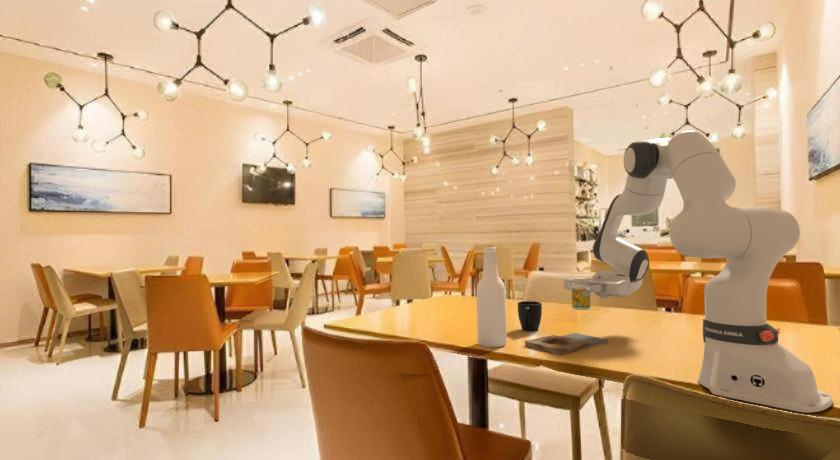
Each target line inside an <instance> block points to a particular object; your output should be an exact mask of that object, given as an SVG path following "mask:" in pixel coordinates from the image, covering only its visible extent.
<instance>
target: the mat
mask: <svg viewBox="0 0 840 460" xmlns="http://www.w3.org/2000/svg"><path fill="white" fill-rule="evenodd" d="M560 336H561V337H566V338H570V339H575V340H579V341H584V342H589V348H590V347H595V346H598V345H602V344H606V343H607V344H608V342H609V339H607V338H602V337H598V336H597V337H596V336H592V335H587V334H582V333H578V332H573V333H569V334H565V335H560Z"/></svg>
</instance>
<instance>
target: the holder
mask: <svg viewBox="0 0 840 460" xmlns="http://www.w3.org/2000/svg"><path fill="white" fill-rule="evenodd" d="M561 336H562V335H556V334H552V335H547V336H542V337H541V336H540V337H538V338H533V339H529V340H525V341H524V346H525V347H528V348H531V349H535V350H539V351H542V352H543V351H544V352H547V353H550V354H555V355H558V356H562V355H566V354H569V353H573V352H578V351H583V350H586V349H589V348H590V347H589V342H584V341H579V340H575V339H570V338H566V337H561ZM556 344H558V345H556Z"/></svg>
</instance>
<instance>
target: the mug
mask: <svg viewBox="0 0 840 460" xmlns="http://www.w3.org/2000/svg"><path fill="white" fill-rule="evenodd" d="M542 306H543V305H542V302H540V301H535V300H523V301H518V302H517V314H518V320H519V324H520V326H521V330H522V331H524V332H531V333H532V332H538V331H539V329H540V324H541V321H542V315H543V313H542V312H543V307H542Z"/></svg>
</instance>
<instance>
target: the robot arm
mask: <svg viewBox="0 0 840 460" xmlns="http://www.w3.org/2000/svg"><path fill="white" fill-rule="evenodd" d="M623 167H624V170H625V172H626V173H627V176H626V177H627V178H626V181H625V183H624V184H625V185H624V188H623V191H622V193H620V194H617V195H615V196H614V198H613V199H612V200H611V203H610V205H609V207H608V210H607V212H606V215H605V218H604V220H603V222H602V226H601V228H600V230H599V233H598V234H597V237H596V239H595V241H594V243H593V244H592V252H593V256H594V258H595V259H596V260H597V261H600V262H603V263H605V264H607V265H609V266H610V267H613V269H608V270H600V271H597V272H595V273H594V274H593V276H592V277H591V278H590V277H586V278H587V285H589V286H587V287H586V288H587V289H586V290H587V291H588V292H590V293H593V294H595V295H596V296H597V297H599V298H603V299H608V298H615V297H622V298H626V297H627V298H628V297H630V296H631V294H632V293H634V292H636V291H637V290H639V289H640V288H641V286H642V284H643V283H644V282H643V281H644V279H643V278H644V277H645V275H646V274H647V271H648V270H649V265H650V258H649V255H648V252H647V251H646V250H645V249H643V248H641V247H639V246H637V245H634V244H632V243H630V242H628V241H626V240H625V239H622V238H620V236H619V235H618V230H619V228H620V226H621V224H622V221H623V218H624V216H636V217H637V216H644V215H648V214H651V213H652V212H654V211H656V210H657V209H658V208H659V207H660V206H661V204H662V203H663V199H664V196H665V192H666V188H667V187H666V186H667V182H668V180H669V179H670V180H671V179H673V180H674V182H675V185H676V186H677V188H678V190H679V193H680V196H681V198H682V201H683V208H682V210H681V212H679V213H678V214H677V215H676V216H675V218H673V220H672V222H671V224H670V226H669V227H670V228H669V238H670V241H671V242H670V243H671V244H672V246H673V247H674V249H675V250H676V251H677V252H678V253H679V254H681V255H684V256H689V257H695V258H700V259H726V258H727V259H726V262H725V265H724V267H723V268H722V270H721V271H720V272H719V273H718V274H717V275H715V276H713V277H711V278H710V279H709V280H707V282H706V284H705V286H704V288H703V289H704V318H703V319H702V338H703V339H702V340H703V343H704V350H703V359H702V364H701V369H700V372H699V375H698V379H697V381H698V383H699V384H700V385H701V386H703V387H705V388H707V389H709V391H710V393H712V394H713V395H715V396H719V397H724V398H729V399H734V400H741V401H744V402H749V403H753V404H760V405H764V406H769V407H774V408H777V409H784V410H789V411H794V412H797V413H808V414H809V413H817V412H821V411H825V410H826V409H829V408H830V407H831V406H832V404H833V398H832V396H831V394H830V393H828V392H826V391H824V390H819V389H818V386H817V381H816V377H815V374H814V372H813V369H812V368H811V367H810V366H809V364H807V363H806V362H804V361H803V360H801V359H800V358H799V357H797V356H796V355H795V354H793V353H792V352H790V350H788V349H787V348H785V347H784V346H783V345H781V344H780V343H779V334H781V332H780V331H781V328H780V327H778V328H775V327H773V326H772V325H770V324H769V323H768V322H767V302H768V301H767V295H768V288H769V287H768V286H769V283H770V280H771V276H772V275H773V272H774V270H775V268H776V266H777V265H778V264H779V262H780V260H781V259H782V258H783V257H785V255H787V254H788V253H789V252H790V251H792V250H793V249H794V248H795V247H796V245H797V244H798V242H799V240H800V235H801V233H800V231H801V229H800V224H799V223H798V220H797V219H796V217H795V216H794V215H793V214H792V213H790V212H789V211H787V210H782V209H777V208H771V207H766V206H750V207H749V206H744V207H740V206H739V207H733V206H730V205H729V204H727V203H726V202H727V201H728V200H729V199H730V198H731V196H733V193H734V192H735V190H736V177H735V176H734V175H733V173H732V171H731V170H730V168H729V167H728V165H727V164H726V162H725V160H724V158H723V157H722V155H721V154H720V153H719V151H718V150H717V148H716V147H715V146H714V144H713V143H712V142H711V141H710V139H708V138H707V137H706V136H705V135H704V134H702V133H701V132H699V131H695V130H685V131H682V132H678V133H677V134H675V135H673V136H672V137H670V138H669V137H664V138H663V137H662V138H655V139H647V140H646V139H641V140H638V141H634V142H631V143H629V145H628V146H627V148H626V149H625V151H624V154H623ZM574 278H575V277H568V278H564V280H563V288H564V290H567V291H572V286H573V285H574V284H575V283H574Z"/></svg>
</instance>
